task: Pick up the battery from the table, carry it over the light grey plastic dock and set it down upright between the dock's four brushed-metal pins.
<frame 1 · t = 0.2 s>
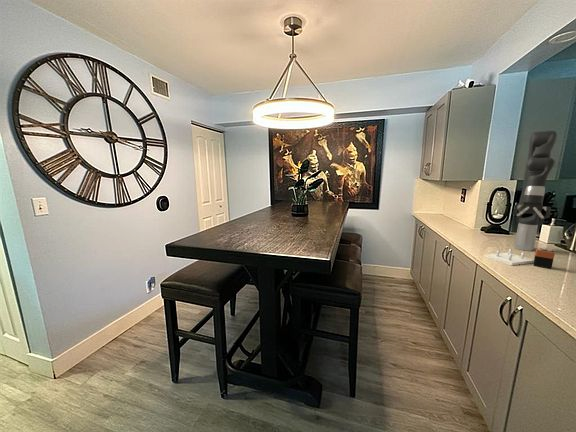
hand: (528, 224, 133), 22 cm above the countertop, tool pointing down, fingers open, 8 cm apart
pin dock: (509, 259, 141), on the countertop
battery: (542, 266, 131), on the countertop
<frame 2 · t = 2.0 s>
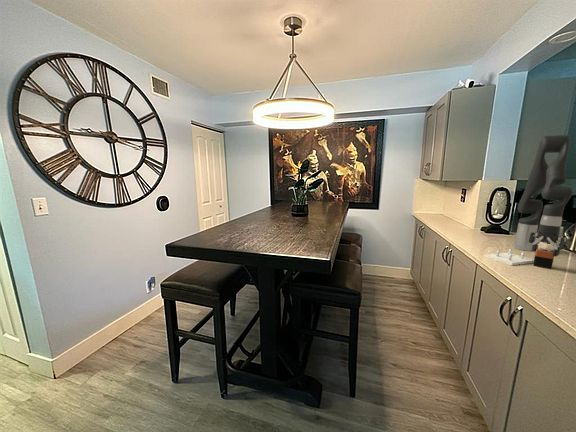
hand: (544, 253, 130), 7 cm above the countertop, tool pointing down, fingers open, 8 cm apart
nothing on the countertop moved.
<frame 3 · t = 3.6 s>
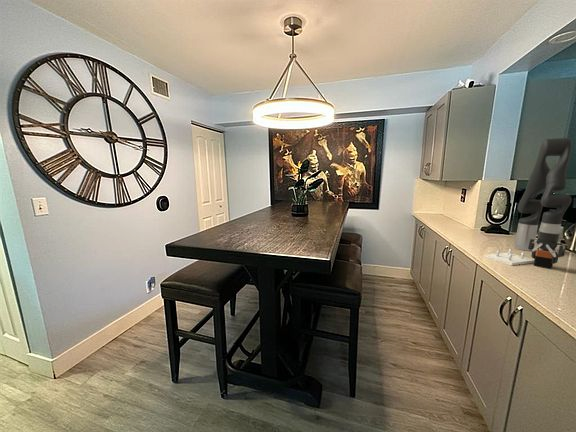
hand: (543, 260, 131), 3 cm above the countertop, tool pointing down, fingers closed on battery, 8 cm apart
battery: (542, 266, 131), on the countertop, touching gripper
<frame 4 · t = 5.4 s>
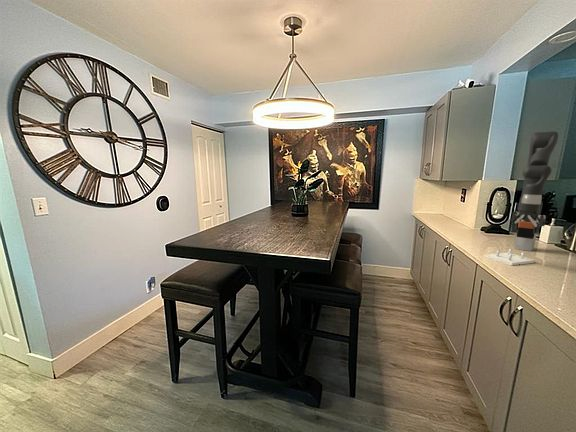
hand: (525, 231, 135), 18 cm above the countertop, tool pointing down, fingers closed on battery, 8 cm apart
battery: (524, 237, 135), point 14 cm above the countertop, touching gripper
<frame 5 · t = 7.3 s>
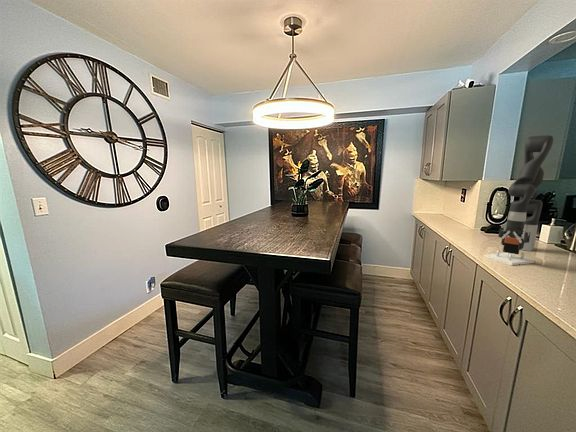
hand: (511, 247, 140), 8 cm above the countertop, tool pointing down, fingers closed on battery, 8 cm apart
battery: (510, 252, 140), point 4 cm above the countertop, touching gripper
when the fingers open (6 cm above the countertop, at t = 8.4 s): battery stays where it is, resting on pin dock.
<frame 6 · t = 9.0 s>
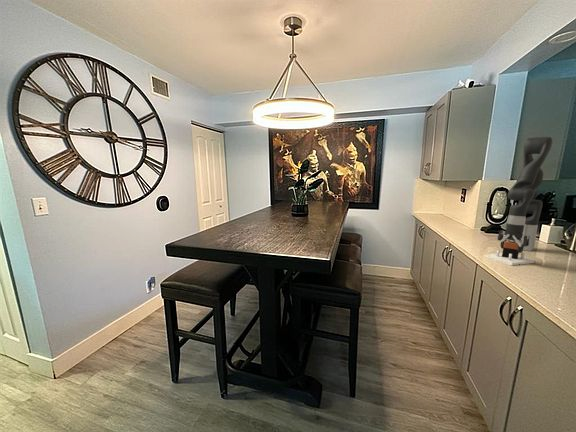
hand: (510, 250, 140), 6 cm above the countertop, tool pointing down, fingers open, 8 cm apart
battery: (509, 257, 141), point 1 cm above the countertop, touching gripper, pin dock
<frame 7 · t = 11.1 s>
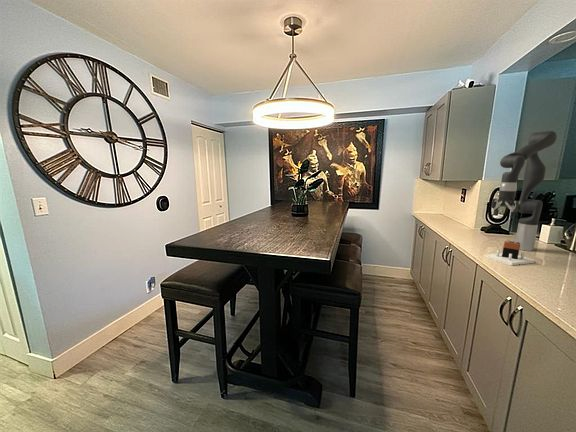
hand: (503, 216, 147), 24 cm above the countertop, tool pointing down, fingers open, 8 cm apart
battery: (509, 257, 141), point 1 cm above the countertop, touching pin dock
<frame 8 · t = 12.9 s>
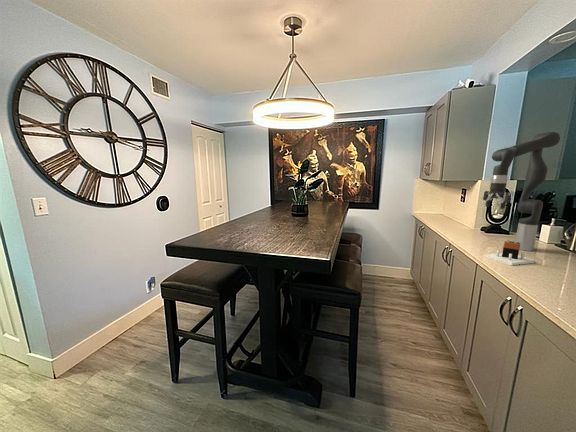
hand: (494, 207, 154), 28 cm above the countertop, tool pointing down, fingers open, 8 cm apart
nothing on the countertop moved.
at the end: battery 0.1 cm off-centre on the pin dock, point 1.3 cm above the pin dock's base; battery tilted 0°; the gripper is holding nothing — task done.
